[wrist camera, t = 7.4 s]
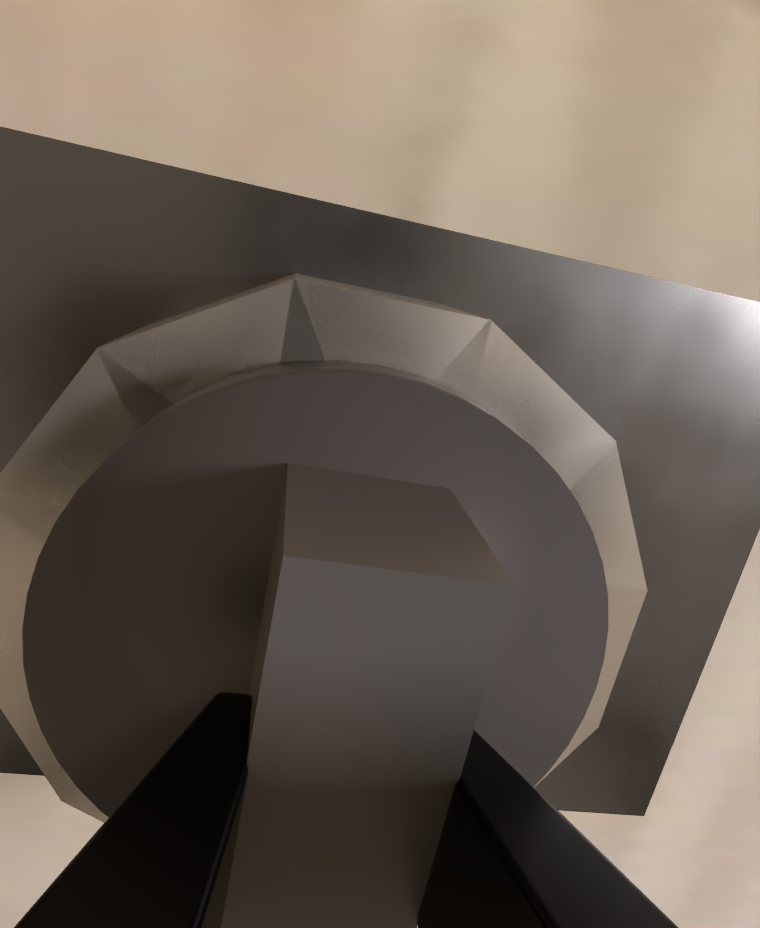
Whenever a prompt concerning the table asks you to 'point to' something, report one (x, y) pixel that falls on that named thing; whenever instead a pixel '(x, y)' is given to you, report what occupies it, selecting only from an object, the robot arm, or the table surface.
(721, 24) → the table surface
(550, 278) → the ring on base plate
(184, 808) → the robot arm
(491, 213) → the table surface
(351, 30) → the table surface
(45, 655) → the grip bar knob
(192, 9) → the table surface
